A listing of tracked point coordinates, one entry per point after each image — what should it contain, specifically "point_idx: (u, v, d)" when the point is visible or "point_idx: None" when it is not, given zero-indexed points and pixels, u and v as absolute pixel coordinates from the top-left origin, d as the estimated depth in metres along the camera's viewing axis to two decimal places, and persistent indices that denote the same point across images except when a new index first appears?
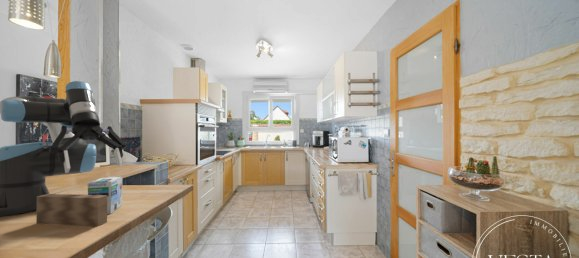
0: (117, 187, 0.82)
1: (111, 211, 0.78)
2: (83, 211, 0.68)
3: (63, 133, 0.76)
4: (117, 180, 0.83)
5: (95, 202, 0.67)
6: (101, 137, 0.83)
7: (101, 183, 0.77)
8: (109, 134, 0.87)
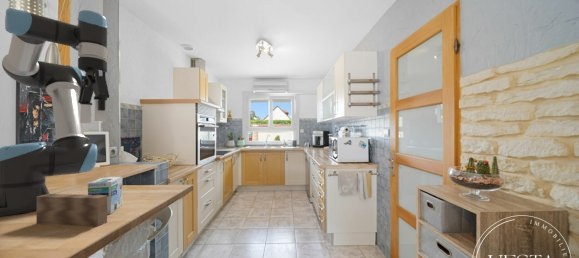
0: (117, 187, 0.82)
1: (111, 211, 0.78)
2: (83, 211, 0.68)
3: (81, 85, 0.81)
4: (117, 180, 0.83)
5: (95, 202, 0.67)
6: None
7: (101, 183, 0.77)
8: None
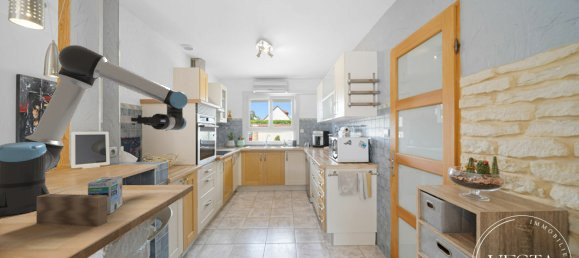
0: (117, 187, 0.82)
1: (111, 211, 0.78)
2: (83, 211, 0.68)
3: (157, 123, 1.02)
4: (117, 180, 0.83)
5: (95, 202, 0.67)
6: (146, 122, 1.02)
7: (101, 183, 0.77)
8: None
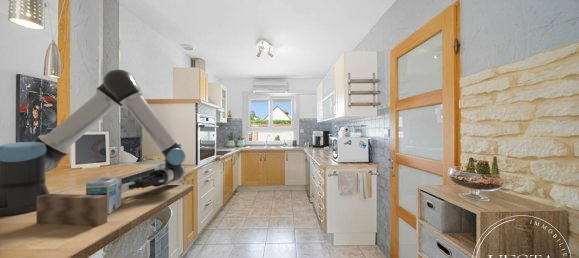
0: (115, 187, 0.82)
1: (109, 211, 0.77)
2: (83, 211, 0.68)
3: None
4: (116, 180, 0.82)
5: (95, 202, 0.67)
6: None
7: (99, 183, 0.76)
8: None
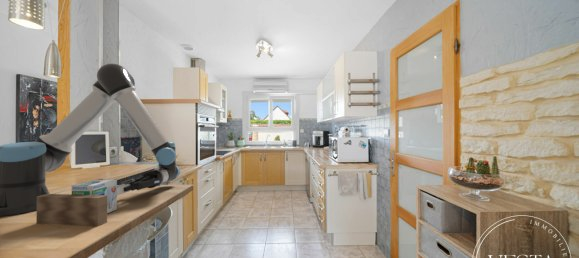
0: (105, 191, 0.76)
1: None
2: (83, 211, 0.68)
3: (150, 185, 0.96)
4: (106, 183, 0.77)
5: (95, 202, 0.67)
6: None
7: (83, 186, 0.72)
8: None
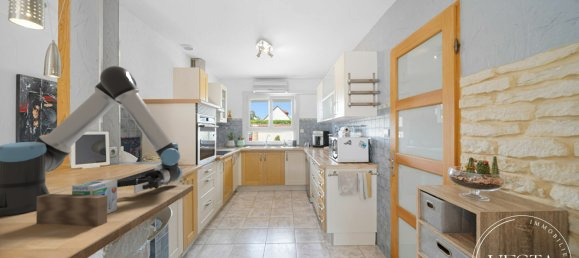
0: (105, 191, 0.77)
1: None
2: (83, 211, 0.68)
3: None
4: (106, 183, 0.77)
5: (95, 202, 0.67)
6: (134, 184, 0.98)
7: (83, 187, 0.72)
8: None
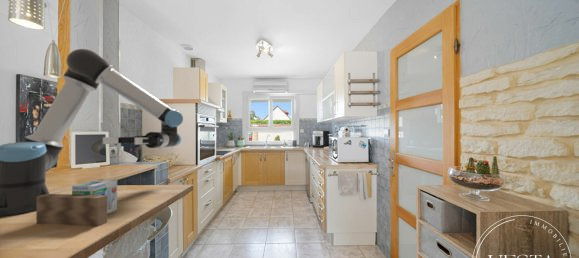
0: (105, 191, 0.77)
1: None
2: (83, 211, 0.68)
3: None
4: (106, 183, 0.77)
5: (95, 202, 0.67)
6: (134, 141, 1.03)
7: (83, 187, 0.72)
8: None
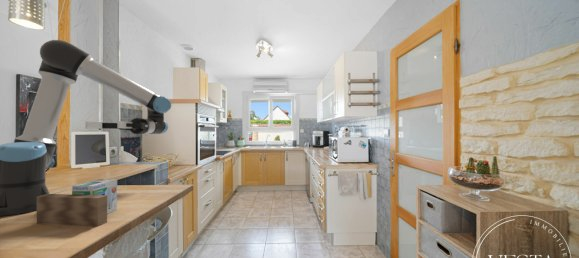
0: (105, 191, 0.77)
1: None
2: (83, 211, 0.68)
3: (142, 128, 1.03)
4: (106, 183, 0.77)
5: (95, 202, 0.67)
6: (119, 127, 1.03)
7: (83, 187, 0.72)
8: None
